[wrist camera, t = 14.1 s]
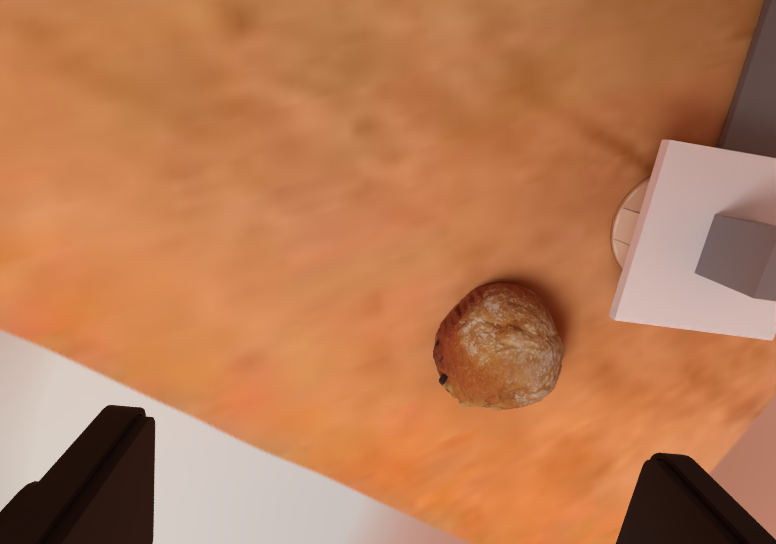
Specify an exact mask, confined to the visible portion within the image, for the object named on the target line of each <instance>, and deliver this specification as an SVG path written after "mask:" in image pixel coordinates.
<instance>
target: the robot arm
mask: <svg viewBox="0 0 776 544" xmlns="http://www.w3.org/2000/svg"><path fill="white" fill-rule="evenodd" d="M154 461H155V420H154V418H153V417H146V414H145V410H144V409H143V408H139V407H127V406H116V405H109V406H106V407H105V408H104V409H103V410H102V411H101V412H100V413H99V415H98V416H97V417H96V418H95V419H94V420H93V421H92V422H91V423H90V425H89V426H88V427H87V428H86V429H85V430H84V431H83V432H82V434H81V435H80V436H79V437H78V438H77V439H76V440H75V441H74V443H73V444H72V445H71V446H70V447H69V448H68V450H66V452H65V453H64V454H63V455H62V456H61V457H60V458H59V459H58V461H57V462H56V463H55V464H54V465H53V466H52V467H51V469H50V470H49V471H48V472H47V473H46V474H45V475H44V476H43V478H42V479H41V480H40V481H39V482H37V481H34V482H32V483H29V484H27V485H26V486H25V487H24V488H23V489H21V490H20V491H19V492H18V493H17V494H16V495H15V496H14V498H13V499H12V500H11V501H10V502H9V503H8V504H7V505H6V506H5V507H4V508H3V509H2V511H1V512H0V544H152V543H153V521H154V520H153V519H154V463H155V462H154ZM616 544H776V540H775V539H774V538H773V537H772V536H771V535H770V534H769V533H768V532H767V531H766V530H765V529H764V528H763V527H762V526H761V525H760V524H759V523H758V522H757V521H756V520H755V519H754V518H753V517H752V516H751V515H749V513H748V512H747V511H745V509H743V507H741V506H740V505H739V504H738V503H737V502H736V501H735V500H734V499H733V498H732V497H731V496H730V495H729V494H728V493H727V492H726V491H725V490H724V489H723V488H722V487H721V486H720V485H719V484H718V483H717V482H716V481H715V480H713V478H712V477H711V476H710V475H709V474H708V473H707V472H706V471H705V470H704V469H703V468H701V467H700V466H699V465H698V464H697V463H696V462H695V461H694V460H693V459H692V458H690V457H689V456H686V455H679V454H667V453H656V454H654V455H653V456H652V457H651V459H650V460H647V461H646V462H645V463H644V464H643V467H642V469H641V472H640V475H639V478H638V481H637V484H636V487H635V490H634V493H633V496H632V498H631V501H630V504H629V507H628V510H627V513H626V516H625V519H624V522H623V525H622V528H621V530H620V533H619V536H618V539H617V542H616Z"/></svg>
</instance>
